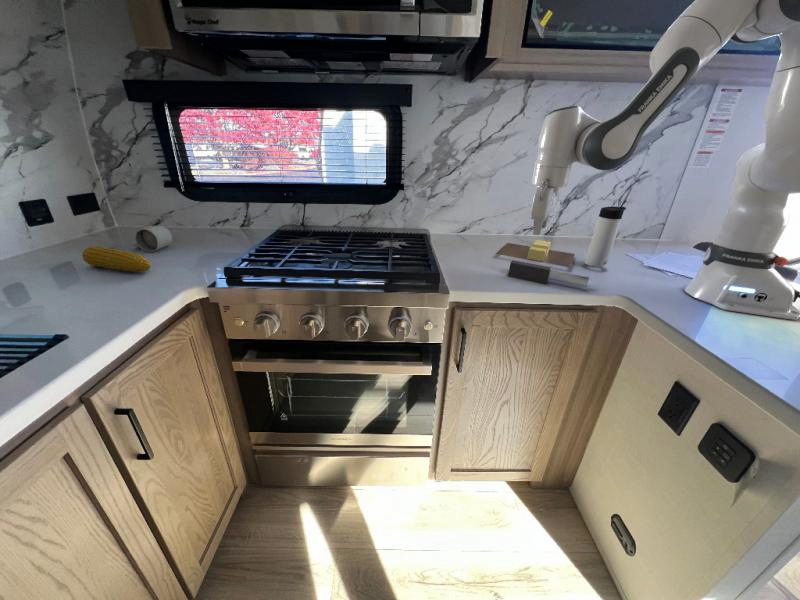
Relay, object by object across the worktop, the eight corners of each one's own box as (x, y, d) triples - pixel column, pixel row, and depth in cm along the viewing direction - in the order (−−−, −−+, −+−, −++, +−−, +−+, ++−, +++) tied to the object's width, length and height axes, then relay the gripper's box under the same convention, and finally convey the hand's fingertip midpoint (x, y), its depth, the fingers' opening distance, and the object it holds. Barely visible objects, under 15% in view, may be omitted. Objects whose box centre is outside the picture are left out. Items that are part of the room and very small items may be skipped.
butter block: (548, 251, 120) (550, 242, 118) (545, 256, 114) (548, 246, 113) (534, 248, 122) (536, 239, 121) (530, 253, 117) (532, 244, 115)
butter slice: (544, 259, 111) (546, 249, 110) (543, 261, 109) (545, 251, 108) (528, 256, 114) (530, 246, 112) (527, 258, 111) (529, 248, 110)
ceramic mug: (176, 245, 116) (170, 223, 113) (161, 252, 109) (153, 229, 105) (147, 244, 116) (140, 222, 113) (129, 251, 109) (121, 228, 106)
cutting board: (573, 257, 119) (574, 253, 118) (569, 271, 105) (570, 267, 105) (506, 246, 129) (507, 242, 129) (494, 257, 116) (495, 253, 115)
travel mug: (609, 272, 106) (630, 208, 97) (587, 270, 107) (605, 207, 99) (602, 266, 112) (621, 205, 103) (581, 264, 113) (598, 204, 104)
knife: (585, 289, 93) (589, 274, 91) (584, 292, 91) (589, 277, 89) (509, 273, 102) (512, 260, 100) (507, 276, 100) (510, 262, 98)
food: (82, 268, 94) (74, 248, 92) (102, 262, 99) (95, 243, 96) (143, 276, 90) (137, 255, 88) (161, 269, 95) (155, 249, 93)
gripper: (558, 182, 76) (545, 240, 82) (567, 176, 93) (556, 225, 98) (529, 180, 79) (519, 237, 85) (543, 175, 95) (534, 223, 101)
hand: (539, 230), depth 92 cm, fingers open, 8 cm apart
